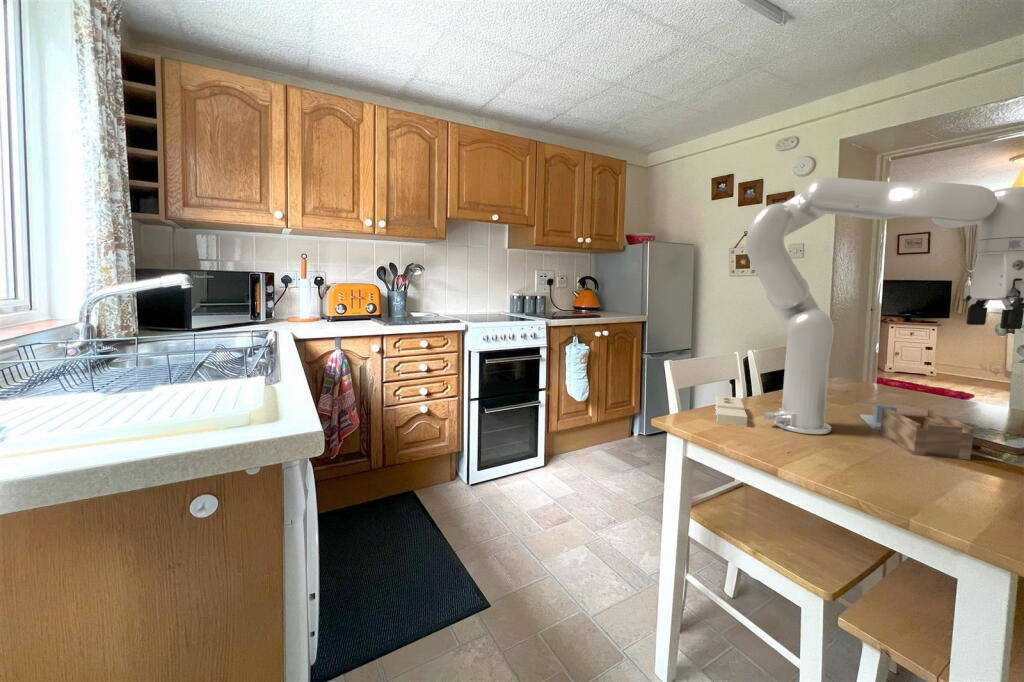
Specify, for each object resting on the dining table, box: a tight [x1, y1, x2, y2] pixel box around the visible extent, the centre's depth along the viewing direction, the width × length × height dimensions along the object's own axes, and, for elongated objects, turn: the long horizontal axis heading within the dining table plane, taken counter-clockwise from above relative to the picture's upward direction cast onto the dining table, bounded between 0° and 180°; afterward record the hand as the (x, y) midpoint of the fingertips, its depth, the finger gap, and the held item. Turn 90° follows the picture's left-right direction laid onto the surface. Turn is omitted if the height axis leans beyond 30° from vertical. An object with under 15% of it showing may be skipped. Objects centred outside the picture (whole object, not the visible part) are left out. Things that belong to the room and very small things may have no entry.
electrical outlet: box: [714, 395, 748, 427], centre depth 124 cm, size 7×4×18 cm
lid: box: [859, 403, 898, 431], centre depth 116 cm, size 12×7×6 cm, turn 155°
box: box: [879, 407, 975, 460], centre depth 100 cm, size 14×10×7 cm
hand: (992, 326), depth 94 cm, fingers open, 9 cm apart
